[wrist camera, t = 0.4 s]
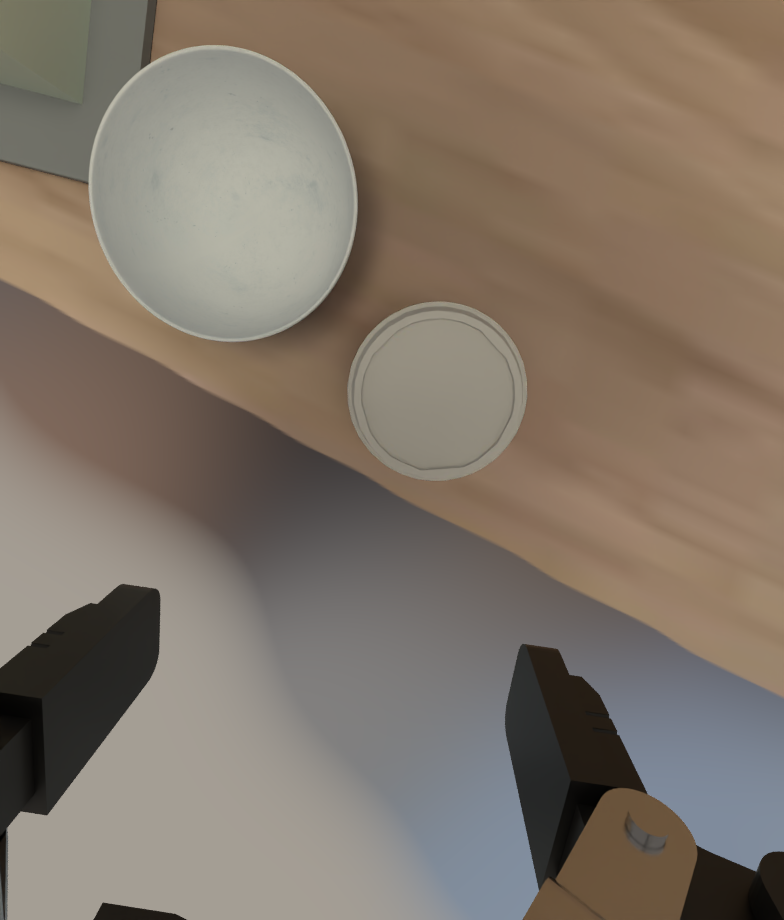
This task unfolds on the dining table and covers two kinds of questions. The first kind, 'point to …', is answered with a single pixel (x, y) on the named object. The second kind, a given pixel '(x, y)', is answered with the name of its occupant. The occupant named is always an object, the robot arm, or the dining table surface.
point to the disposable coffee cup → (437, 391)
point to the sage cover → (45, 46)
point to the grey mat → (75, 125)
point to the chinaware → (223, 193)
